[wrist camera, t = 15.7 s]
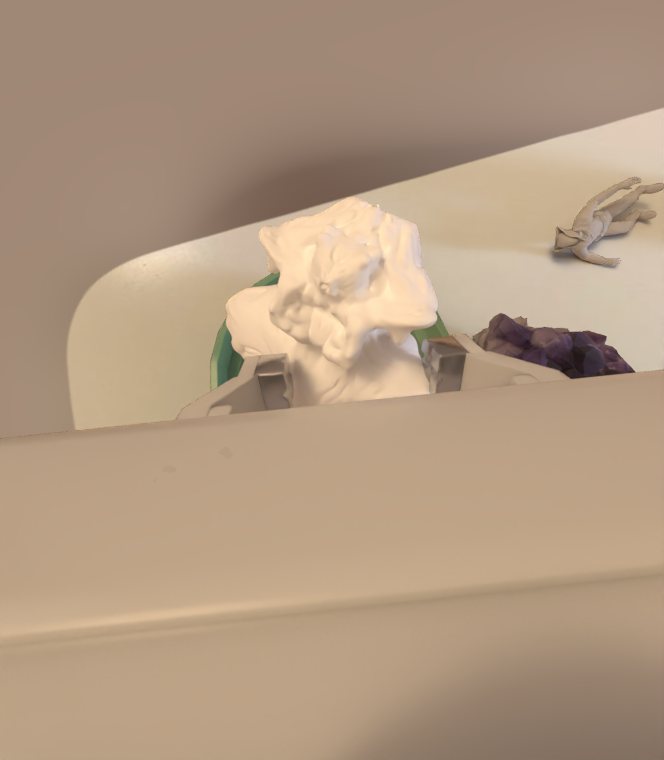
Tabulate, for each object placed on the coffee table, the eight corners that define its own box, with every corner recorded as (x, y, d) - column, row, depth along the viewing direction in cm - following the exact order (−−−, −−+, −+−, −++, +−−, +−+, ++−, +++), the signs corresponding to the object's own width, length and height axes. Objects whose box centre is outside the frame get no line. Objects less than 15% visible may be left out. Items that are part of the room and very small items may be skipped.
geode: (679, 437, 28) (862, 452, 18) (604, 541, 27) (749, 616, 17) (488, 307, 30) (555, 255, 20) (417, 400, 30) (449, 394, 20)
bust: (430, 441, 18) (584, 259, 11) (382, 555, 13) (625, 347, 5) (273, 341, 21) (309, 140, 13) (177, 401, 15) (148, 118, 8)
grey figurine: (648, 247, 33) (604, 284, 28) (593, 248, 37) (545, 282, 32) (671, 161, 29) (625, 187, 24) (607, 173, 33) (555, 197, 28)
